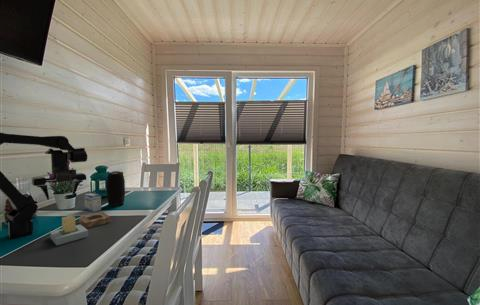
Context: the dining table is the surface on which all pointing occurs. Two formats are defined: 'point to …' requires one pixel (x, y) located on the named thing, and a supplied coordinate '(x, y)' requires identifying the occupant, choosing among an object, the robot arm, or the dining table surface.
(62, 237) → the socket block
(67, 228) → the brass pin
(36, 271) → the dining table surface
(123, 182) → the portable speaker
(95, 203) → the medicine box
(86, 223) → the walnut mount
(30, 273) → the dining table surface
